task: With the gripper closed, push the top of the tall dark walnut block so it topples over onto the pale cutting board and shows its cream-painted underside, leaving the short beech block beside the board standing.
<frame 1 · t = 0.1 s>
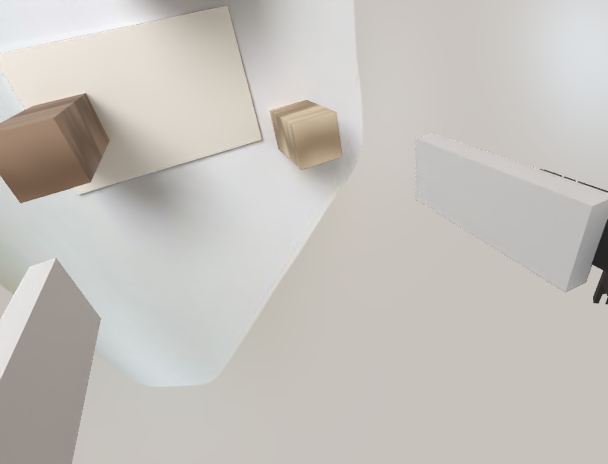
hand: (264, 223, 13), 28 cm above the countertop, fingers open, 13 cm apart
walnut block: (73, 124, 32), resting on board
beech block: (292, 124, 40), on the countertop
board: (149, 103, 34), on the countertop
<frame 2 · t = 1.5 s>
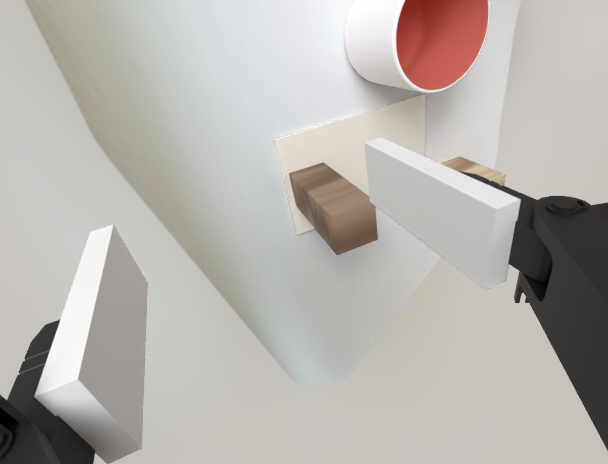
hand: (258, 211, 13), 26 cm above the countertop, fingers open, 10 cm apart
walnut block: (309, 184, 42), resting on board
beech block: (446, 175, 50), on the countertop
cup: (380, 32, 38), on the countertop
board: (357, 166, 44), on the countertop
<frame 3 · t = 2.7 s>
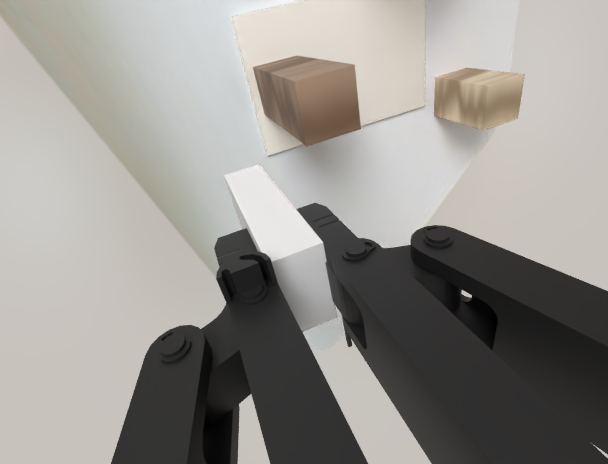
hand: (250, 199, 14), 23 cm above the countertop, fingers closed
walnut block: (280, 85, 34), resting on board
beech block: (450, 92, 42), on the countertop
board: (341, 67, 36), on the countertop
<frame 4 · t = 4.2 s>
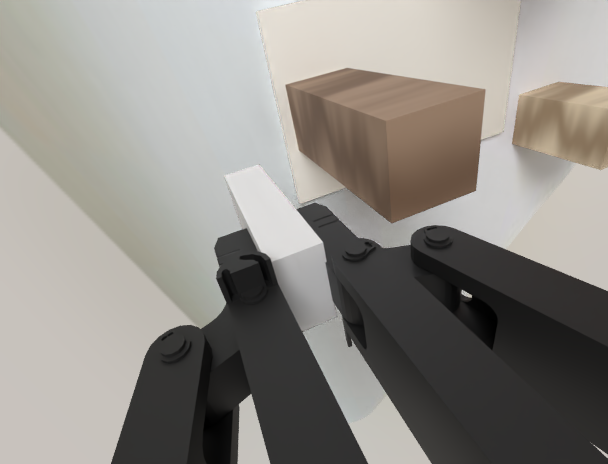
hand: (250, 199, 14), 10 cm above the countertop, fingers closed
walnut block: (321, 110, 24), resting on board
beech block: (534, 113, 32), on the countertop
board: (403, 84, 26), on the countertop
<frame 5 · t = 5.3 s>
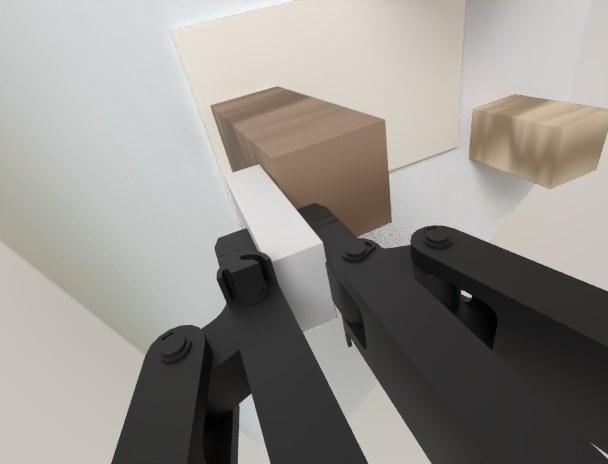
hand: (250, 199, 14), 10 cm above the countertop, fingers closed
walnut block: (253, 130, 23), point 1 cm above the countertop, touching board, gripper
beech block: (491, 126, 31), on the countertop
board: (343, 100, 25), on the countertop
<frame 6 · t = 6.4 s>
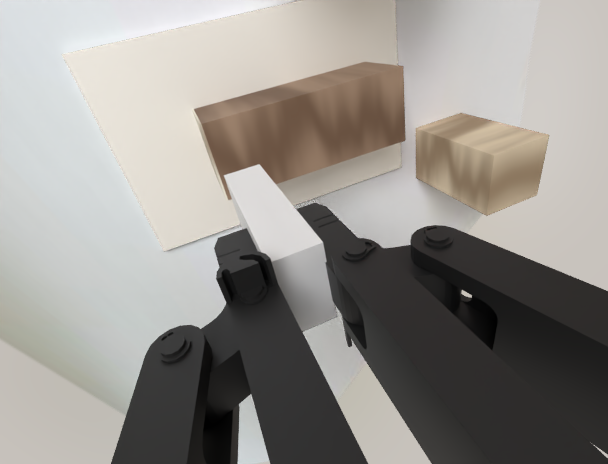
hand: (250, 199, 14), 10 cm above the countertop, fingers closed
walnut block: (208, 153, 21), point 3 cm above the countertop, tilted 90°, touching board
beech block: (437, 146, 30), on the countertop
board: (270, 123, 24), on the countertop
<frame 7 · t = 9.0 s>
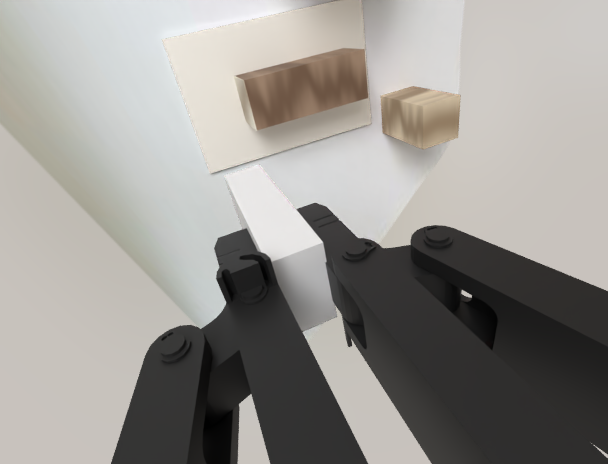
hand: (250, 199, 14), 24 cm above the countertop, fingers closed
walnut block: (244, 102, 33), point 3 cm above the countertop, tilted 90°, touching board
beech block: (397, 110, 42), on the countertop
board: (281, 87, 36), on the countertop
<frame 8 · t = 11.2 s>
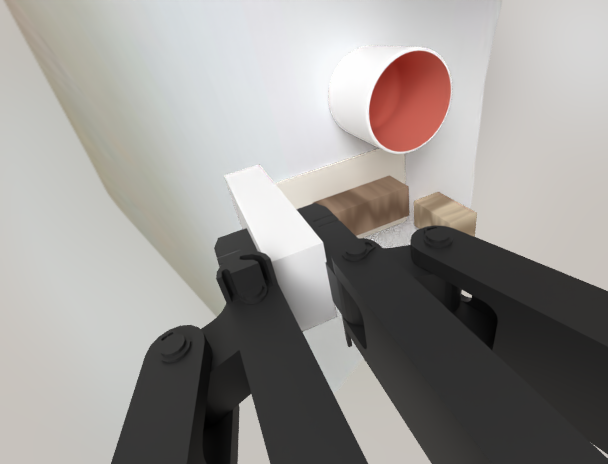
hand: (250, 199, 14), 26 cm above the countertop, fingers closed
walnut block: (320, 224, 46), point 3 cm above the countertop, tilted 90°, touching board
beech block: (426, 208, 55), on the countertop
cup: (360, 91, 42), on the countertop
board: (343, 204, 49), on the countertop
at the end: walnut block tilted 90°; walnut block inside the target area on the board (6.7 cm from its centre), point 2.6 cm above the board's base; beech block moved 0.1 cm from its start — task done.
